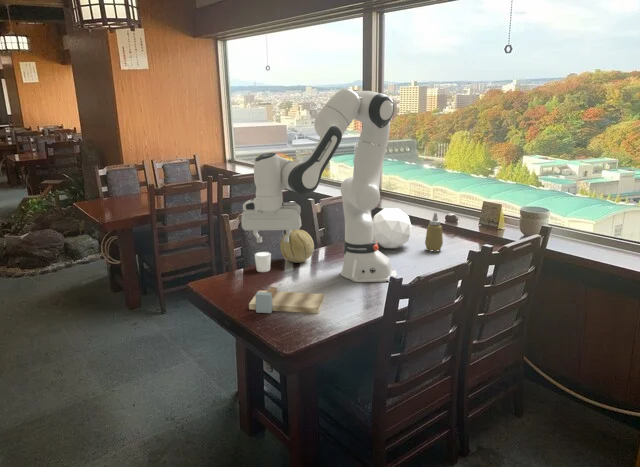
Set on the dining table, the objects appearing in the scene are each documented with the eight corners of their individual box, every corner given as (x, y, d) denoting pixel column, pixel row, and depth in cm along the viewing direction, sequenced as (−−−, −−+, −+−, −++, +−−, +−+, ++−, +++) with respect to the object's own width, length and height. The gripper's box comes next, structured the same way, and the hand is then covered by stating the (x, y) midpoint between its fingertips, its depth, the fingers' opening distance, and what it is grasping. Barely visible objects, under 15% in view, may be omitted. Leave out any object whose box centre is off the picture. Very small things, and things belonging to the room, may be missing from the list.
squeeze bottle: (444, 249, 226) (447, 212, 221) (438, 254, 219) (441, 215, 215) (428, 247, 230) (430, 210, 225) (422, 251, 224) (423, 213, 219)
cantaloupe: (318, 265, 207) (317, 231, 203) (284, 269, 203) (283, 234, 199) (308, 255, 220) (308, 223, 216) (277, 258, 216) (276, 226, 212)
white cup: (268, 273, 198) (268, 257, 196) (253, 272, 200) (252, 256, 198) (273, 267, 205) (273, 251, 203) (258, 266, 206) (257, 251, 204)
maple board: (323, 299, 172) (323, 293, 171) (318, 313, 160) (318, 307, 160) (259, 295, 176) (258, 290, 175) (249, 309, 164) (248, 303, 164)
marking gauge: (280, 297, 173) (280, 280, 171) (270, 313, 160) (270, 295, 158) (267, 296, 174) (266, 279, 172) (256, 312, 161) (255, 294, 159)
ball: (384, 257, 238) (384, 220, 245) (420, 250, 225) (419, 211, 232) (361, 246, 224) (362, 207, 232) (398, 237, 212) (398, 196, 219)
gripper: (302, 200, 162) (304, 239, 166) (243, 201, 165) (247, 239, 169) (298, 204, 156) (301, 244, 160) (237, 205, 159) (242, 245, 163)
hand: (273, 242), depth 165 cm, fingers open, 8 cm apart
